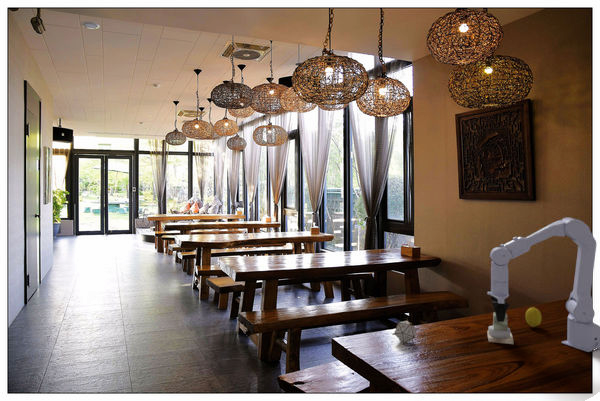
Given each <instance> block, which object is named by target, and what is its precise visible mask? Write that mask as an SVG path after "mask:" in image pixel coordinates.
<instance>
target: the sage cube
mask: <svg viewBox="0 0 600 401" xmlns="http://www.w3.org/2000/svg"><path fill="white" fill-rule="evenodd" d="M492 313H493V314H492V316H493V317H492V318H493V319H492V325H493V330H501V331H507V327H508V313H506V314H505V319H504V322H498V321H497V318H496V313H495V311H494V312H492Z"/></svg>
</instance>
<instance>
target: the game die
mask: <svg viewBox="0 0 600 401" xmlns="http://www.w3.org/2000/svg"><path fill="white" fill-rule="evenodd" d="M396 322H397V324H395V331H394V332H393V333H392V334H391V335H392V336H396V338H398V339H399V341H401V342H402V345H403V346H404V345H405V344H406V343H409V342H411V341H412V343H415V341H414V339H416V336H415V335H416V333H417V331H418V330H419V328H418V327H417V328H416V326H414V325H413V323H412V322H410V321H409V318H406V320H404V321H399V320H397V321H396Z"/></svg>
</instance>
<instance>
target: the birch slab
mask: <svg viewBox="0 0 600 401" xmlns="http://www.w3.org/2000/svg"><path fill="white" fill-rule="evenodd" d="M486 332H487V339H488V342H489V343H497V344H507V345H508V344H509V345H514V344H515V343H514V337H513V334H512V332H511V331H510V338H507V339H499V338H494V337H491V336H489V334H488V330H487V331H486Z"/></svg>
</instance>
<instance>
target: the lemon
mask: <svg viewBox="0 0 600 401" xmlns="http://www.w3.org/2000/svg"><path fill="white" fill-rule="evenodd" d="M525 320H526V323H527V324H528V325H529V326H530V327H532V328H536V326H537V327H538V326H539V325H540V324H541V322H542V313H541V311H540V310H539V309H538V308H536V307H534V306H531V307H530V308H528V309H526V312H525Z"/></svg>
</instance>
